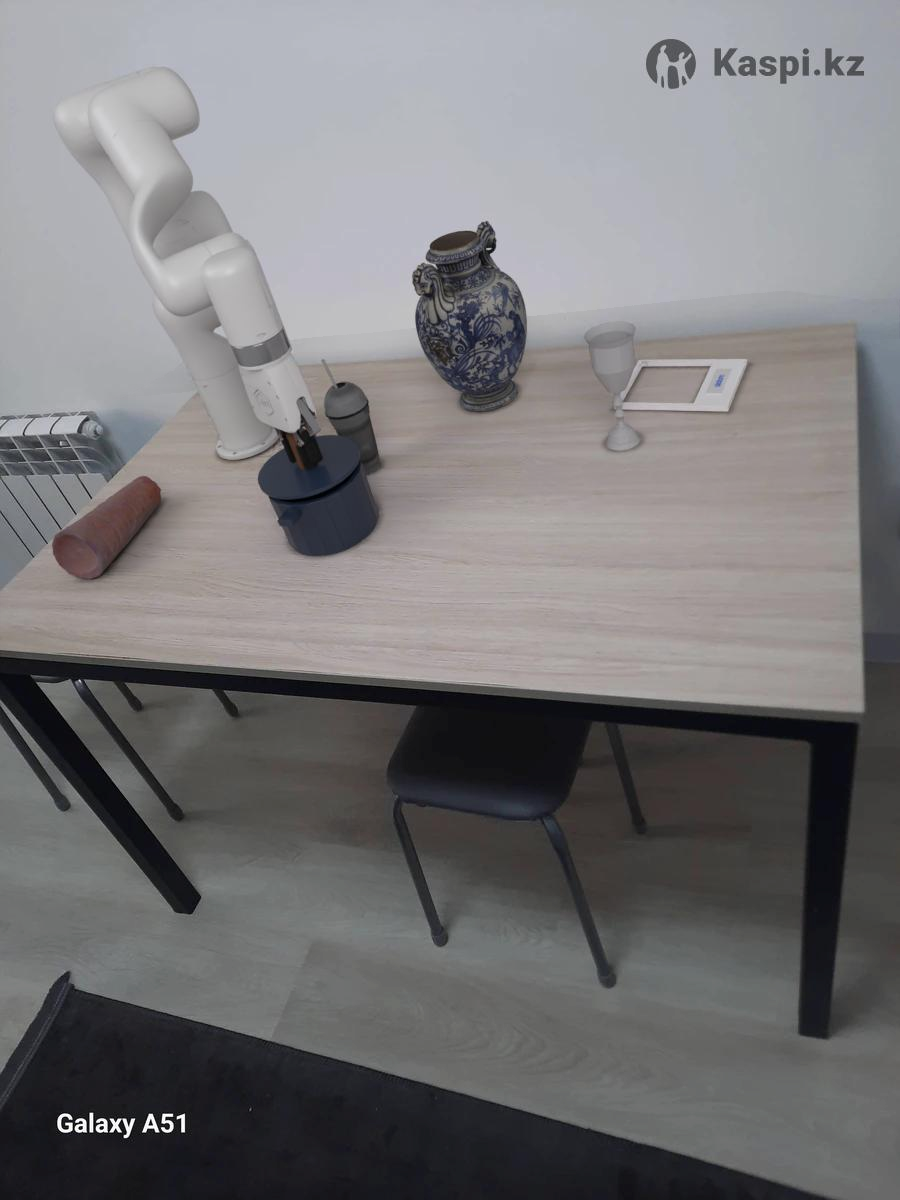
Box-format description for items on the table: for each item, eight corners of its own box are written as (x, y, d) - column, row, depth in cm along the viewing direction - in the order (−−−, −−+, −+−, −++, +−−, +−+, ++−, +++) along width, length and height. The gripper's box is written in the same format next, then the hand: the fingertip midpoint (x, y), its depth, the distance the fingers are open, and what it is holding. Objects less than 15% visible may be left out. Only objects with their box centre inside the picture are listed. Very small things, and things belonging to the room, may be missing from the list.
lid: (242, 501, 125) (223, 463, 121) (290, 441, 135) (275, 404, 131) (333, 504, 119) (318, 464, 115) (377, 441, 129) (364, 402, 125)
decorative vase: (479, 363, 164) (444, 213, 146) (563, 371, 153) (536, 211, 135) (413, 422, 152) (367, 267, 135) (499, 435, 142) (461, 269, 124)
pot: (264, 565, 130) (240, 515, 124) (322, 487, 143) (302, 439, 137) (347, 570, 124) (326, 518, 118) (399, 488, 137) (383, 438, 131)
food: (113, 579, 137) (85, 536, 131) (66, 580, 140) (37, 538, 134) (175, 499, 152) (152, 457, 146) (131, 502, 155) (107, 461, 149)
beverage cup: (382, 477, 141) (344, 367, 128) (342, 481, 143) (301, 373, 130) (393, 453, 146) (357, 344, 133) (353, 457, 148) (315, 350, 135)
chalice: (594, 453, 131) (578, 345, 120) (605, 429, 136) (590, 322, 124) (641, 454, 128) (629, 342, 117) (651, 429, 133) (640, 319, 121)
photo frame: (727, 405, 130) (613, 403, 139) (727, 411, 131) (614, 409, 139) (747, 357, 139) (638, 358, 148) (747, 364, 140) (639, 364, 148)
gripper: (207, 349, 118) (256, 460, 130) (273, 371, 107) (320, 490, 119) (250, 324, 121) (294, 435, 133) (318, 343, 111) (360, 462, 123)
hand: (306, 460), depth 126 cm, fingers closed on lid, 2 cm apart
